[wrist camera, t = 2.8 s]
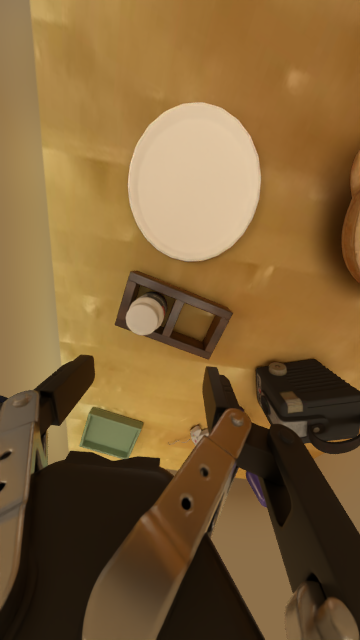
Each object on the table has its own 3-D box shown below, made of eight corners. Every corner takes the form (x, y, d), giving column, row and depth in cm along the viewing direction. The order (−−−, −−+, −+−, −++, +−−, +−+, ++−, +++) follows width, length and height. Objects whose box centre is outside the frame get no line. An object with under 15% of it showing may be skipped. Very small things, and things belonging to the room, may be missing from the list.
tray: (83, 438, 46) (79, 446, 44) (93, 406, 42) (88, 413, 40) (129, 452, 47) (127, 460, 45) (143, 422, 43) (141, 429, 41)
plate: (105, 155, 26) (101, 150, 25) (233, 74, 23) (236, 63, 22) (164, 280, 32) (163, 281, 31) (273, 229, 29) (277, 227, 27)
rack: (206, 349, 36) (208, 359, 32) (122, 318, 34) (114, 325, 31) (227, 307, 33) (233, 313, 29) (136, 270, 31) (130, 271, 27)
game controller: (214, 433, 44) (216, 443, 41) (182, 453, 47) (181, 463, 44) (200, 421, 43) (201, 431, 40) (167, 442, 45) (166, 452, 43)
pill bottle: (173, 309, 34) (169, 327, 24) (150, 323, 35) (137, 345, 25) (157, 285, 32) (146, 293, 23) (133, 300, 33) (113, 314, 24)
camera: (250, 362, 37) (293, 424, 23) (316, 352, 36) (404, 410, 22) (253, 401, 40) (291, 475, 26) (313, 393, 39) (387, 466, 25)
